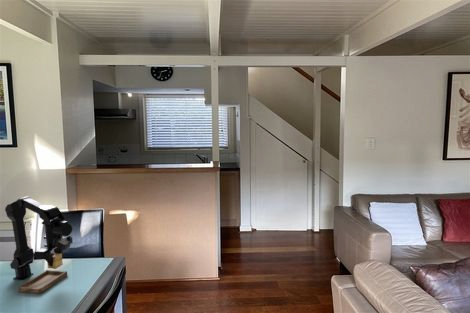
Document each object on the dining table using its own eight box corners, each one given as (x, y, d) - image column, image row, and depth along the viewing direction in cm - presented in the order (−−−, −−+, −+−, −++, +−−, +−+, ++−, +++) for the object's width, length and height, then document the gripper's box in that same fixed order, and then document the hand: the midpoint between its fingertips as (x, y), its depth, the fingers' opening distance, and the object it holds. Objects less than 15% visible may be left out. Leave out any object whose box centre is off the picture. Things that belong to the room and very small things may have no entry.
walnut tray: (18, 292, 154) (18, 287, 153) (47, 274, 171) (47, 269, 171) (40, 294, 151) (39, 289, 151) (67, 275, 169) (67, 271, 169)
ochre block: (48, 268, 157) (46, 256, 156) (54, 264, 161) (53, 252, 161) (56, 268, 156) (55, 257, 155) (62, 264, 161) (61, 253, 160)
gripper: (52, 241, 146) (55, 274, 148) (79, 227, 164) (82, 256, 166) (31, 240, 148) (34, 272, 150) (60, 226, 166) (63, 255, 168)
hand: (55, 263), depth 159 cm, fingers closed on ochre block, 4 cm apart
